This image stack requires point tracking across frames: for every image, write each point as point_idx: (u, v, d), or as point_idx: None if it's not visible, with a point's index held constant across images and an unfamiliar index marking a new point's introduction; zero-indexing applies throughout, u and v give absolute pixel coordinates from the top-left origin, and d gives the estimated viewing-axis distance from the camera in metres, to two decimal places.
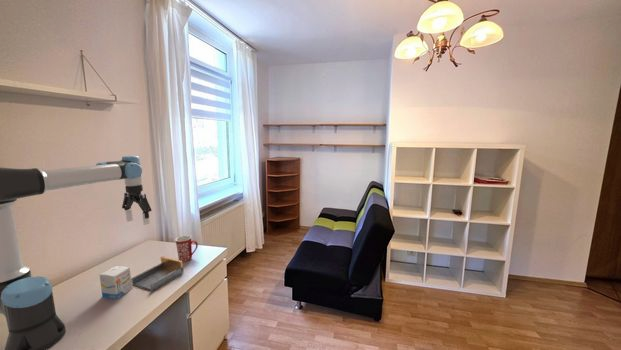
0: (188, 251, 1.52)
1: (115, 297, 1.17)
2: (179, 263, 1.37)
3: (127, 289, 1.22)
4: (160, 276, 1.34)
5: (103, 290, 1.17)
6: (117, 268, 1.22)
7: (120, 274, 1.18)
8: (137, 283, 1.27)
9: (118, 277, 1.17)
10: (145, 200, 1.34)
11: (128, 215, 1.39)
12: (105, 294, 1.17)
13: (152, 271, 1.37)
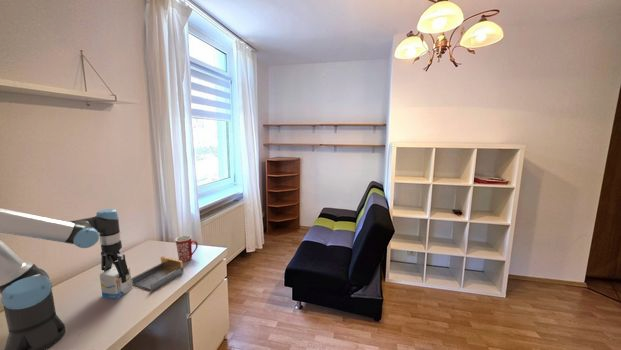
0: (188, 251, 1.52)
1: (115, 297, 1.17)
2: (179, 263, 1.37)
3: (127, 289, 1.22)
4: (160, 276, 1.34)
5: (103, 290, 1.17)
6: None
7: None
8: (137, 283, 1.27)
9: (118, 276, 1.17)
10: (123, 262, 1.17)
11: None
12: (105, 294, 1.17)
13: (152, 271, 1.37)
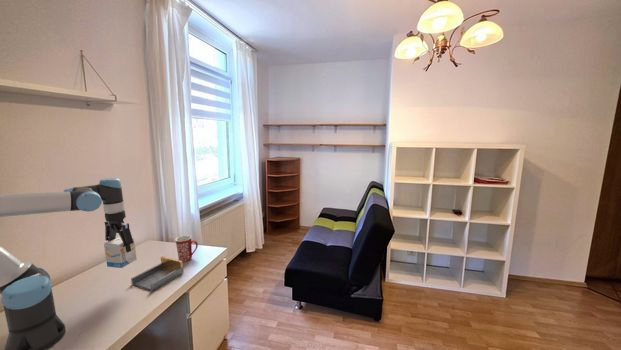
0: (188, 251, 1.52)
1: (120, 266, 1.16)
2: (179, 263, 1.37)
3: (132, 259, 1.22)
4: (160, 276, 1.34)
5: (108, 259, 1.17)
6: None
7: None
8: (137, 283, 1.27)
9: (122, 245, 1.17)
10: (127, 231, 1.16)
11: None
12: (110, 263, 1.17)
13: (152, 271, 1.37)
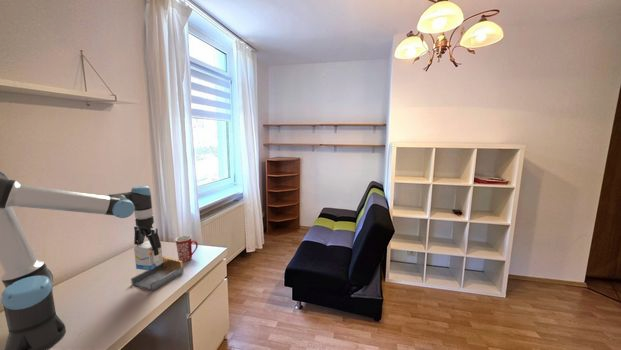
0: (188, 251, 1.52)
1: (149, 268, 1.24)
2: (179, 263, 1.37)
3: (159, 262, 1.29)
4: (160, 276, 1.34)
5: (137, 262, 1.24)
6: (149, 242, 1.29)
7: None
8: (137, 283, 1.27)
9: (151, 249, 1.24)
10: (156, 236, 1.24)
11: None
12: (139, 266, 1.25)
13: (152, 271, 1.37)
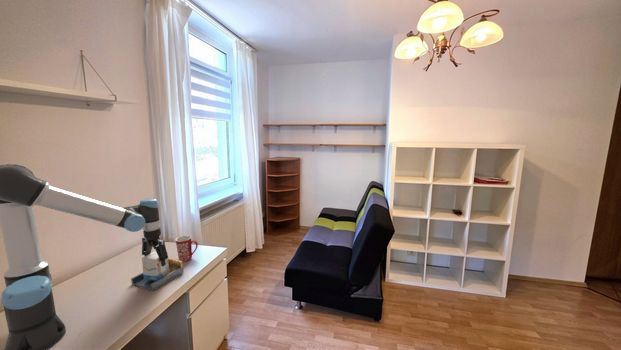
0: (188, 251, 1.52)
1: (156, 279, 1.28)
2: (179, 263, 1.37)
3: (165, 272, 1.33)
4: None
5: (145, 272, 1.28)
6: (156, 253, 1.33)
7: None
8: (137, 283, 1.27)
9: (158, 260, 1.28)
10: (163, 247, 1.28)
11: None
12: (146, 276, 1.28)
13: None
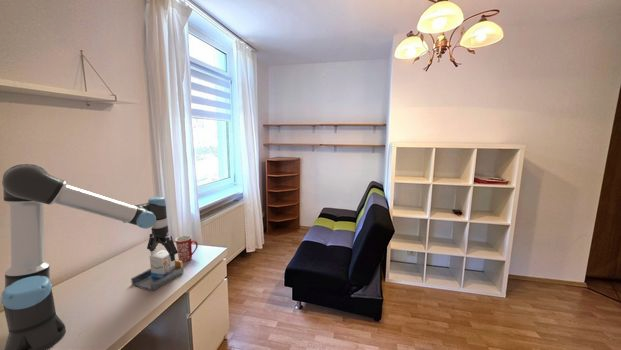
0: (188, 251, 1.52)
1: None
2: (179, 263, 1.37)
3: (172, 270, 1.37)
4: None
5: (152, 270, 1.32)
6: (164, 251, 1.37)
7: (167, 257, 1.33)
8: (137, 283, 1.27)
9: (165, 259, 1.32)
10: (171, 242, 1.31)
11: None
12: (154, 274, 1.33)
13: None
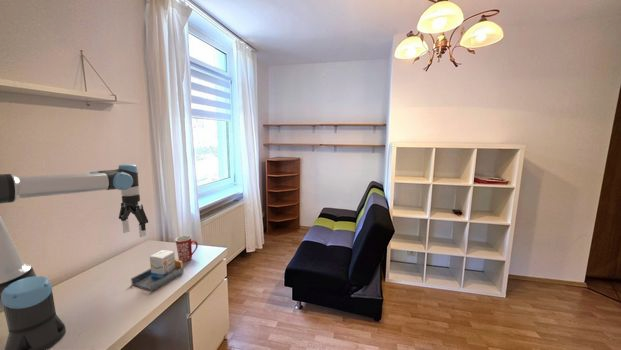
0: (188, 251, 1.52)
1: None
2: (179, 263, 1.37)
3: (172, 270, 1.37)
4: None
5: (152, 270, 1.32)
6: (164, 251, 1.37)
7: (167, 257, 1.33)
8: (137, 283, 1.27)
9: (165, 259, 1.32)
10: (142, 211, 1.26)
11: (125, 226, 1.33)
12: (154, 274, 1.33)
13: None
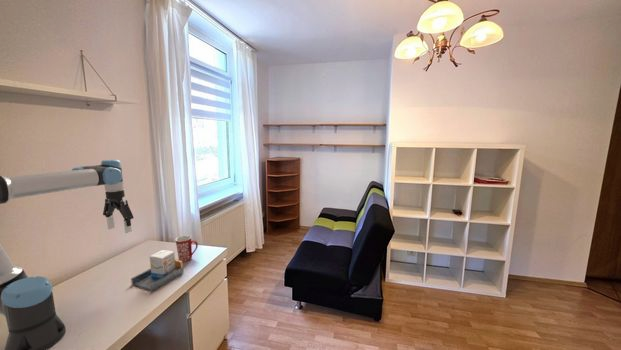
0: (188, 251, 1.52)
1: None
2: (179, 263, 1.37)
3: (172, 270, 1.37)
4: None
5: (152, 270, 1.32)
6: (164, 251, 1.37)
7: (167, 257, 1.33)
8: (137, 283, 1.27)
9: (165, 259, 1.32)
10: (127, 207, 1.26)
11: (109, 222, 1.31)
12: (154, 274, 1.33)
13: None
